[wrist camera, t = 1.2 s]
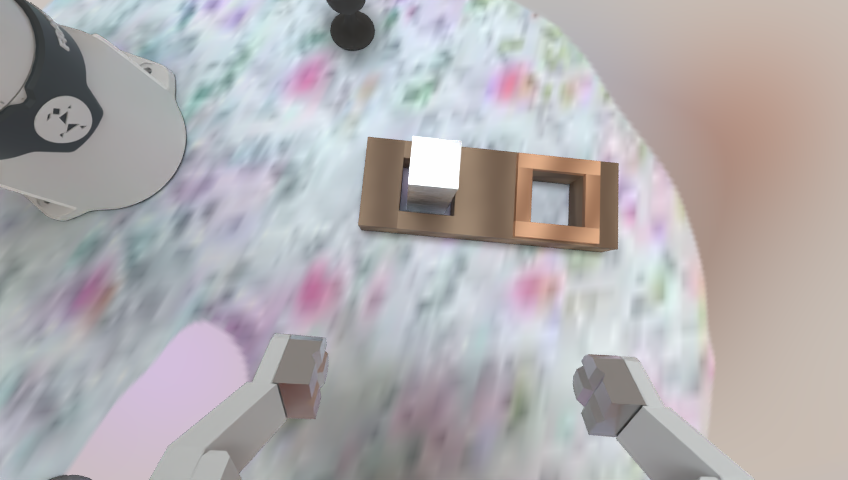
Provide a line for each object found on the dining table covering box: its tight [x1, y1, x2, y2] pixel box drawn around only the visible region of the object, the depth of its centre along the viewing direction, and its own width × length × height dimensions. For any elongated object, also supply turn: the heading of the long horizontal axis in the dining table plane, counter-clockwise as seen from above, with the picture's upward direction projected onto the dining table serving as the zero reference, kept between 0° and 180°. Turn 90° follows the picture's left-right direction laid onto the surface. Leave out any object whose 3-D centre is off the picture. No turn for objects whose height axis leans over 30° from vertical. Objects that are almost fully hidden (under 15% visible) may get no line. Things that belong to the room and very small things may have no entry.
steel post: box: [406, 136, 462, 214], centre depth 34 cm, size 4×4×10 cm
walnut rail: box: [358, 137, 619, 252], centre depth 37 cm, size 26×9×4 cm, turn 85°
